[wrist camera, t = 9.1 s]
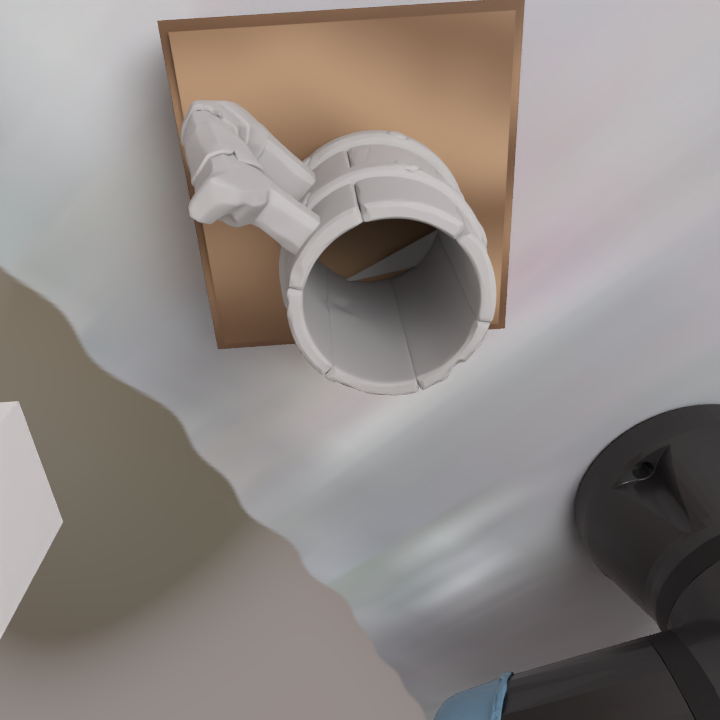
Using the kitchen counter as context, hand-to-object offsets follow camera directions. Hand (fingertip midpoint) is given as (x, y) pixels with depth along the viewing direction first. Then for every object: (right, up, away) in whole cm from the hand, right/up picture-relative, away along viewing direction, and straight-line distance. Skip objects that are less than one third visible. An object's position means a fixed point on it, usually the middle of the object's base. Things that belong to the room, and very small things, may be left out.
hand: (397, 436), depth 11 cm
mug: (-2, +9, +15) cm, 18 cm away
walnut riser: (-1, +11, +21) cm, 24 cm away
